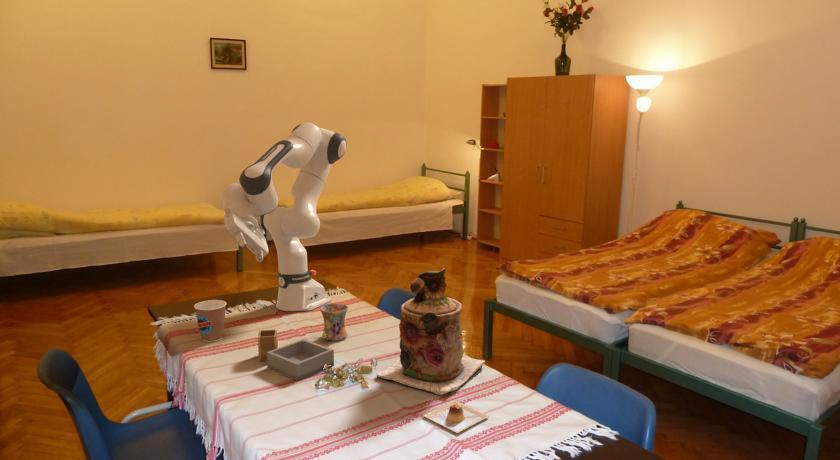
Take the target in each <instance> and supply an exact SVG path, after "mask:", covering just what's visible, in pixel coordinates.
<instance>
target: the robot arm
mask: <svg viewBox="0 0 840 460" xmlns="http://www.w3.org/2000/svg"><path fill="white" fill-rule="evenodd" d="M346 139H347V138H346V137H345V136H344V135H342V134H340V133H339V132H334V131H332V130H329V129H326V128H323V127H318V126H317V125H315V123H312V122H303V123H301V124H298V125H296V126H294V128H293V129H292V130H291V133H290V134H289V135H288V136H287V138H286V139H282V140H279V141H277V142H276V143H274V144H273V145H272V146H271V147H270V148H269V149H268V150H266V152H265V153H264V154H262V155H261V156H260V157H259V158H258V159H257V160H256V161H255V162H253V163H252V164H250V165H249V166H247V167H245V168H244V170H243V171H242V172H241V173H240V175H239V183H237V182H233V183H230V184H228V185H227V186H225V187H224V189H223V191H222V193H221V201H222V205H223V206H222V207H223V210H224V216H223V221H224V222H223V223H224V227H225V229H226V231H228V233H230V234H231V235H232V236H233V237H235V239H236V240H237V242H238V245H239V246H240V247H241V248H242V249H244V248H245V247H246V248H247V249H248V250H250V252H252V253H253V254H254V255H255V256H254V257H255V260H256V261H257V262H258V263H261V262H263V260H264V257H265V256H267V255H268V254H269V250H270V249H269V247H268V246H269V245H268V242H267V240H266V237H265V234H266V233H265V230H264V228H265V229H266V230H267V231H268V232H269V234H270V236H271V237H272V240H273V243H274V246H275V249H276V253H277V263H278V264H277V266H278V267H277V268H278V271H277V283H278V294H277V298H276V299H277V300H276V303H275V304H276V305H275V308H276V309H277V310H280V311H285V312H302V311H305V312H308V311H310V312H311V311H312V310H314V309H316V308H319V307H322V306H324V305H327V304H329V303H330V302H332V297H330V296H329V295H327V294H326V290H325V287H324V286H323V285H322V284H321V283H320V282H318V281H316V280H315V279H313V278H312V276H316V275H317V271H316V270H314V269H311V270H310V269H308V253H307V249H306V248H305V247H304V246H303V244H302V243H301V241H300V239H310V238H314V237H315V236H316V235H318V233H319V230H320V228H321V220H320V218H319V215H318V214H317V207H318V201H319V198H320V196H321V194H322V192H323V189H324V186H325V185H326V182H327V181H328V177H329V174H330V171H331V167H332V165H333V164H335V163H336V162H338V161H339V160H340V159H342V158H343V156H344V155H345V152H346V150H347V143H348V142H347V140H346ZM280 164H283V165H285V166H287V167H288V168H292V169H299V172H298V173H297V176H296V177H295V180H294V182H293V183H292V186H291V189H290V193H291V195H292V197H293V199H294V200H293V203H292V206H291V207H287V206H279V202H280V200H279V197H278V193H277V190H276V188H275V185H274V182H273V171H274V170H276V168H278V166H280ZM261 216H263V225H264V228H263V227H262V226H261V224H260V223H259V221H258V220H257V219H258V218H257V217H261Z"/></svg>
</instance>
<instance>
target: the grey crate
mask: <svg viewBox="0 0 840 460" xmlns="http://www.w3.org/2000/svg"><path fill="white" fill-rule="evenodd" d="M334 352H335V350H334V349H333V348H330V347H327V346H324V345H322V344H319V343H316V342H313V341H310V340H308V339H304V338H301V339H299V340H296V341H294V342H291V343H288V344H285V345H283V346H280V347H279V346H278V348H277V349H274V350H271V351H268V352H267V362H266V365H267V366H266V367H267V369H269V370H271V371H274V372H276V373H279V374H281V375H283V376H284V377H285V376H286V377H287V378H290V379H293V380H295V381H296V382H298V381H301V380H303V379H306V378H308V377H310V376H313V375H315V374H317V373H320V372H322V371H324V370H323V368H324V365H325V364H327V365H331V367H333V366H335V353H334ZM319 371H320V372H319Z"/></svg>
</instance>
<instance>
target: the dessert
mask: <svg viewBox="0 0 840 460" xmlns="http://www.w3.org/2000/svg"><path fill="white" fill-rule="evenodd" d="M446 410H448V412H447V416H446V419H447V420H448V421H449V422H450V423H461V422H463V421H464V420H465V419H466V418H465V415H464V411H466V412H468V413H471V414H472V415H475V416H477V417H479V418H480V419H478V420H476V421H474V422H472V423H470V424H469V425H467V426H465V427H463V428H462V429H459V430H455V429H453V428H451V427H449V426H447V425H445V424H443V423H441V422H439V421H437V420H435V419H433V418H431V417H434V416H435V415H437V414H439V413H442V412H444V411H446ZM463 410H464V411H463ZM421 416H422V417H424V418H426V419H428V420H429V421H432V422H434V423H436V424H438V425H440V426H442V427H444V428H445V429H448V430H449V431H452V432H453V433H456V434H459V433H461V432H463V431H465V430H466V429H469V428H471V427H472V426H474V425H475V424H478V423H479V422H482V421H483V420H485V419H487V418H490V415H488V414H486V413H485V412H481V411H479V410H477V409H475V408H473V407H470V406H468V405H466V404H464V403H462V402H459V401H457V400H455V399H453V400H451V401H450V402H448V403H445V404H442V405H441V406H438V407H437V408H435V409H433V410H431V411H428V412H426V413H424V414H422V415H421Z"/></svg>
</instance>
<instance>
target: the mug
mask: <svg viewBox="0 0 840 460" xmlns="http://www.w3.org/2000/svg"><path fill="white" fill-rule="evenodd" d="M348 310H349V307H348V306H347V305H345V304H344V303H343V304H342V303H327V304H324V305H321V306H320V308H319V311H320V312H321V315H322V317H323V322H324V324H323V325H324V328H323V333H322V334H321V337H322V339H323V340H326V341H330V342H331V341H333V342H334V341H341V340H343V339H344V340H345V339H346V338H347V336H348V332H347V330H346V326H345V321H346V314H347V312H348Z"/></svg>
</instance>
